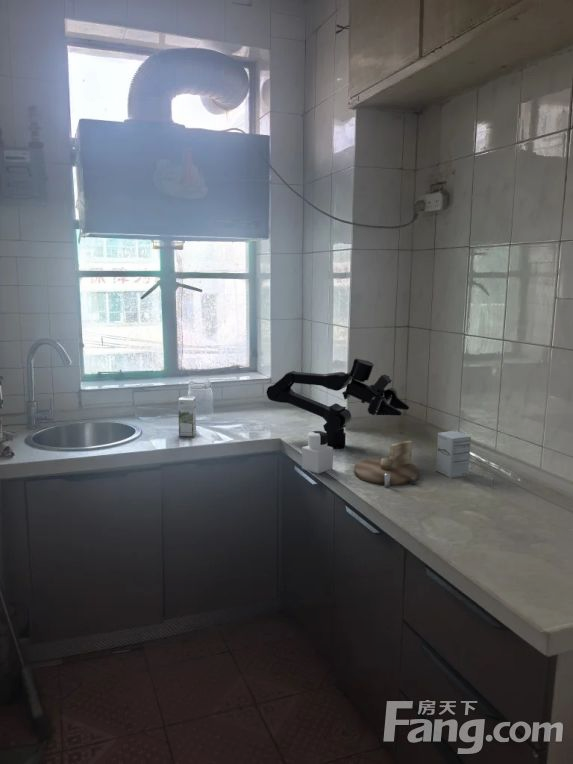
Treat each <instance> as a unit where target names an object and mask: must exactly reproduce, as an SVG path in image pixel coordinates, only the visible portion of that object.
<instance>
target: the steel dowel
mask: <svg viewBox="0 0 573 764" xmlns="http://www.w3.org/2000/svg"><path fill="white" fill-rule="evenodd" d="M383 485H384V486H383V488H384V489H385V488H386V489H389V488H390V487H391V485H390V473H385V478H384V484H383Z"/></svg>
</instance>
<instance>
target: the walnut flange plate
mask: <svg viewBox="0 0 573 764" xmlns="http://www.w3.org/2000/svg"><path fill="white" fill-rule="evenodd" d="M389 445H390V446H389V457H382V458H371V459H370V458H369V459H365V460H361V461H359V462H357V463H355V465H354V467H353V474H354V475H355V476H356V477H357V478H359V479H360V480H362V481H365V482H369V483H373V484H378V485H384V478H385V473H390V486H392V485H395V486H397V485H405V484H412V485H416V484H418V483H417V482H418V479H420V472H421V470H420V468H419V467H417V466H416V465H415V464H412V450H413V441H412V440H406V441H401V442H397V443H393V444H392V443H391V444H389Z"/></svg>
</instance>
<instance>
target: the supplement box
mask: <svg viewBox="0 0 573 764" xmlns="http://www.w3.org/2000/svg"><path fill="white" fill-rule="evenodd" d="M471 441H472V436H470V435H468V434H465V433H462V432H460V431H457V430H450V431H444V432H443V431H442V432H437V444H436V459H435V471H436V472H438V473H440V474H442V475H444V476H447V477H448V478H450V479H451V478H458V477H464V476H469V470H470V469H469V468H470V467H469V466H470V454H471V443H472V442H471Z"/></svg>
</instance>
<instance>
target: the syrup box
mask: <svg viewBox="0 0 573 764" xmlns="http://www.w3.org/2000/svg"><path fill="white" fill-rule="evenodd" d="M196 403H197V401H196V396H180V397H179V398H178V399H177V405H178V406H177V407H178V409H177V410H178V413H177V414H178V416H177V417H178V436H179V437H182V438H183V437H184V438H185V437H186V438H192V437H195V435H196V434H197V423H196V422H197V420H196V419H197V418H196V417H197V416H196V415H197V413H196V412H197V411H196V410H197V409H196V407H197V406H196Z"/></svg>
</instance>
